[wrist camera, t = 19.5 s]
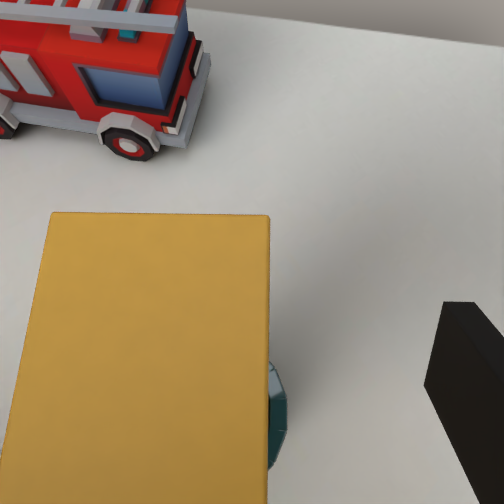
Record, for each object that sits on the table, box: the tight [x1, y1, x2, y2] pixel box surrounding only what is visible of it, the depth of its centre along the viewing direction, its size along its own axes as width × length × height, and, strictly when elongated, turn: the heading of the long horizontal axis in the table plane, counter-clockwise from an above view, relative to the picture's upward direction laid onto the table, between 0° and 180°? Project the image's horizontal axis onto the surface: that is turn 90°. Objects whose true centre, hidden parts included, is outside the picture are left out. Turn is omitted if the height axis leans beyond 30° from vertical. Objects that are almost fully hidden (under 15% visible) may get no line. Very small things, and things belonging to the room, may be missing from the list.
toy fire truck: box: [0, 0, 211, 161], centre depth 27 cm, size 9×19×10 cm, turn 79°
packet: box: [0, 212, 270, 504], centre depth 12 cm, size 4×8×10 cm, turn 179°
